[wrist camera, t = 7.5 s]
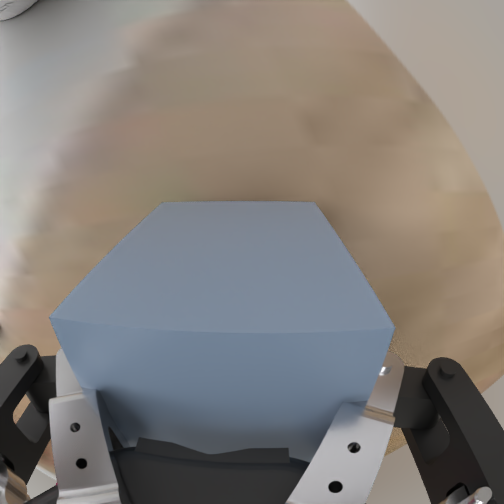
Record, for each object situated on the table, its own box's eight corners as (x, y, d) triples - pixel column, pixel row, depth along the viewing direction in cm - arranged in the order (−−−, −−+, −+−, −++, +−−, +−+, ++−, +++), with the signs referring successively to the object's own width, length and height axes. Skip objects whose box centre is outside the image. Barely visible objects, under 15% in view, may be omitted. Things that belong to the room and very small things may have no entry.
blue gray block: (162, 202, 13) (49, 317, 5) (314, 201, 13) (395, 327, 5) (177, 324, 16) (132, 467, 8) (303, 326, 16) (329, 477, 8)
